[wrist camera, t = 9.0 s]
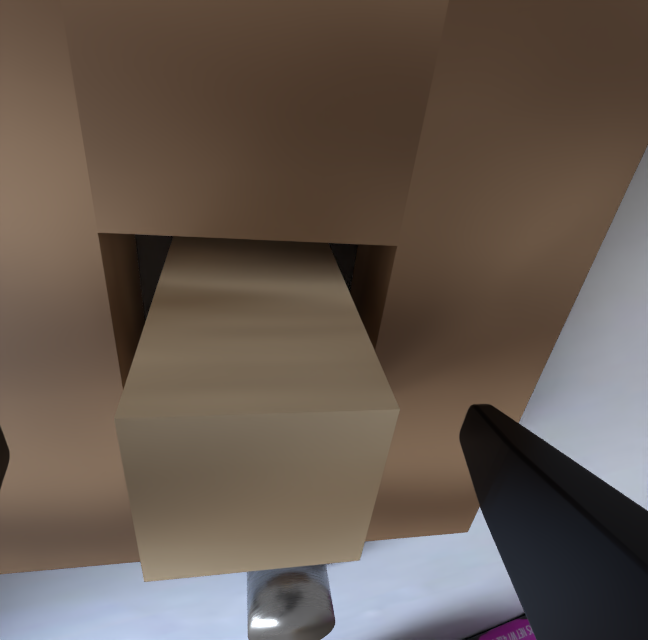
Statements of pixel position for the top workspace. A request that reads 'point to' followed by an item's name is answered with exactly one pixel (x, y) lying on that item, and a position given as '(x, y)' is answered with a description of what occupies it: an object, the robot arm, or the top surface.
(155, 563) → the tan cardboard cuboid
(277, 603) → the grey metal cylinder
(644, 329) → the top surface
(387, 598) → the top surface
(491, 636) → the candy bar box
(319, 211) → the hole block
